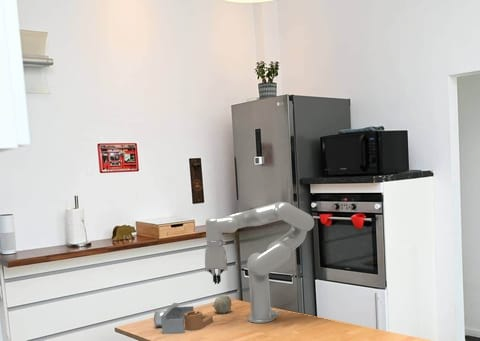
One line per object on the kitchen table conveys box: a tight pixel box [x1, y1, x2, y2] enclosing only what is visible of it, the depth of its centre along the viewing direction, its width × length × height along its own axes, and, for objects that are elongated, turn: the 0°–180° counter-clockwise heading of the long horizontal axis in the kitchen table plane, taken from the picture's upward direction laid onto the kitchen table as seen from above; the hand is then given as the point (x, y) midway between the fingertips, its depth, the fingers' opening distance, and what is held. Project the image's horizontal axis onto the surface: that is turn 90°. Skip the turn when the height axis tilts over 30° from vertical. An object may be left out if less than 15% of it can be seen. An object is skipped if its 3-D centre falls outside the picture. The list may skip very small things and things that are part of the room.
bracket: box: [184, 310, 214, 332], centre depth 227 cm, size 18×8×7 cm, turn 156°
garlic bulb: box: [212, 294, 232, 314], centre depth 247 cm, size 9×8×10 cm
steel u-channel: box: [153, 302, 195, 335], centre depth 228 cm, size 16×24×8 cm, turn 175°
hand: (217, 283), depth 227 cm, fingers closed
